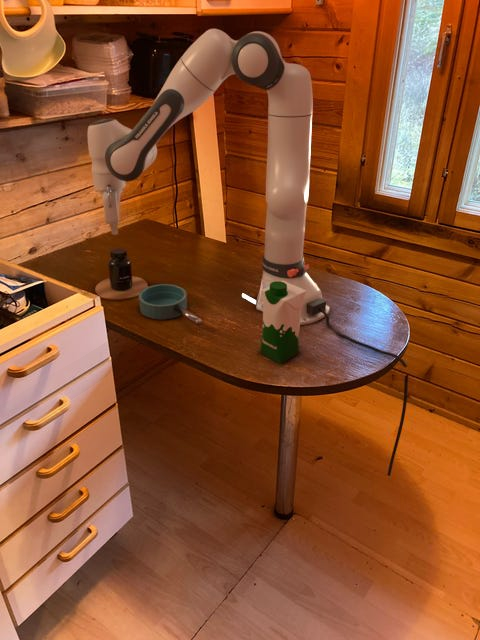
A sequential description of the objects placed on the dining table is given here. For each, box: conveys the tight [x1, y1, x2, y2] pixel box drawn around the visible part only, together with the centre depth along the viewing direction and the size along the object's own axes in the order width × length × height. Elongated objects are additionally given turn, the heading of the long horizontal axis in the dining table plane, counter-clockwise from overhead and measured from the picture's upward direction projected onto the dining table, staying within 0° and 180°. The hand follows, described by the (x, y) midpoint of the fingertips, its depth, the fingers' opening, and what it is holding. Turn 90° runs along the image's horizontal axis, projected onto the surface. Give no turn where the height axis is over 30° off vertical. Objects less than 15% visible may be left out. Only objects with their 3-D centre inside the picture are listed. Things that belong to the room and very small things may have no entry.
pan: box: [138, 283, 188, 321], centre depth 148 cm, size 14×14×4 cm
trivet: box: [94, 275, 149, 301], centre depth 159 cm, size 16×16×1 cm
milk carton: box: [259, 281, 306, 365], centre depth 125 cm, size 9×9×20 cm
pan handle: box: [174, 304, 203, 327], centre depth 139 cm, size 12×2×2 cm, turn 41°
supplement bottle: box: [107, 247, 133, 291], centre depth 156 cm, size 7×7×12 cm
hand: (115, 228), depth 149 cm, fingers open, 8 cm apart
